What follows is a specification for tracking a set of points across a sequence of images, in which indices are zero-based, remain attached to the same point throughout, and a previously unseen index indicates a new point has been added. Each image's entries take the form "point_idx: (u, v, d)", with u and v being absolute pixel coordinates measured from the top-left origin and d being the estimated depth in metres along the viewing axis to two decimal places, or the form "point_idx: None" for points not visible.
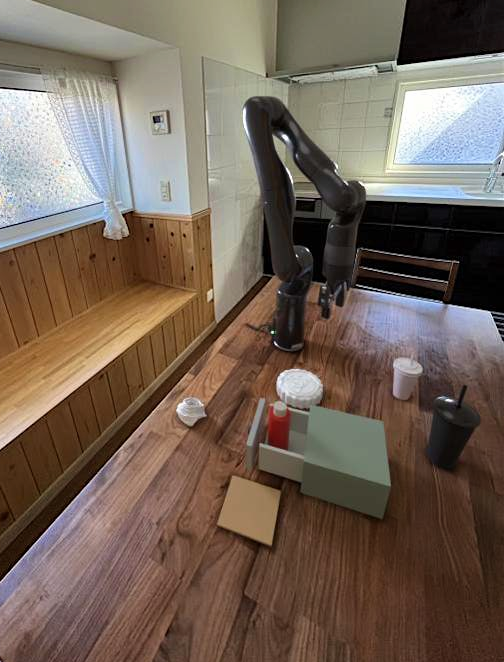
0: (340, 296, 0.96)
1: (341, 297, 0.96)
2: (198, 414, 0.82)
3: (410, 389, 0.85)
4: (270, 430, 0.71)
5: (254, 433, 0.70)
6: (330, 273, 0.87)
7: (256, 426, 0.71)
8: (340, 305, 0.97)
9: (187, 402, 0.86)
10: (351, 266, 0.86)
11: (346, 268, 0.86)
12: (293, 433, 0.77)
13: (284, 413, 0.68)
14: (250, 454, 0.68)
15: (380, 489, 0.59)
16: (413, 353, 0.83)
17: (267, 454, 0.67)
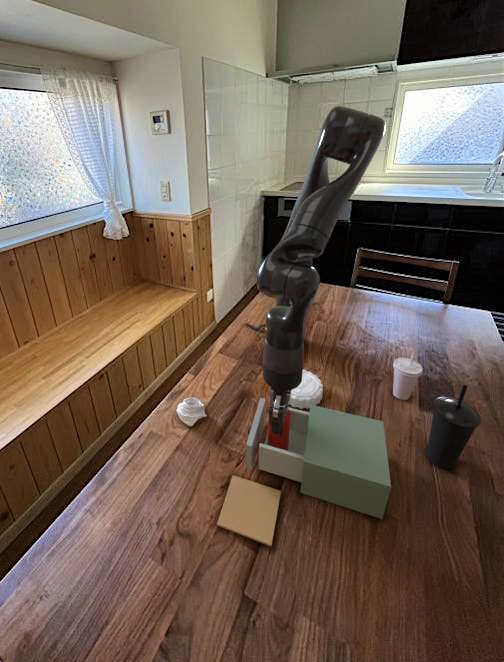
0: None
1: None
2: (198, 414, 0.82)
3: (410, 389, 0.85)
4: (270, 430, 0.71)
5: (254, 433, 0.70)
6: (278, 383, 0.62)
7: (256, 426, 0.71)
8: None
9: (187, 402, 0.86)
10: (302, 368, 0.63)
11: (298, 374, 0.62)
12: (293, 433, 0.77)
13: None
14: (250, 454, 0.68)
15: (380, 489, 0.59)
16: (413, 353, 0.83)
17: (267, 454, 0.67)
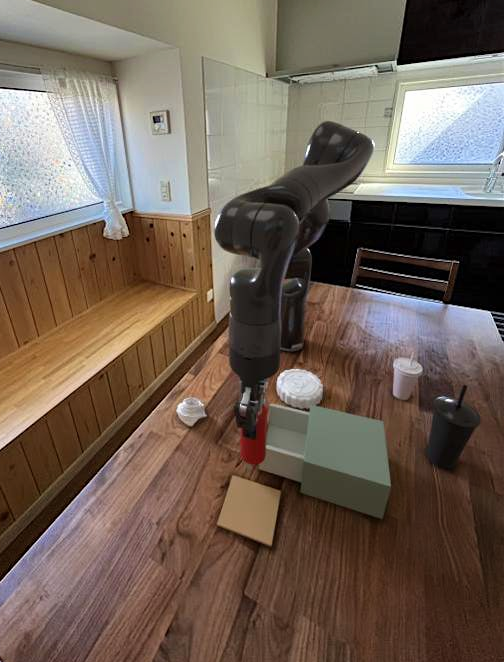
0: None
1: None
2: (198, 414, 0.82)
3: (410, 389, 0.85)
4: (241, 433, 0.55)
5: None
6: (247, 370, 0.47)
7: None
8: None
9: (187, 402, 0.86)
10: (279, 351, 0.48)
11: (273, 358, 0.46)
12: (293, 433, 0.77)
13: None
14: None
15: (380, 489, 0.59)
16: (413, 353, 0.83)
17: (267, 454, 0.67)
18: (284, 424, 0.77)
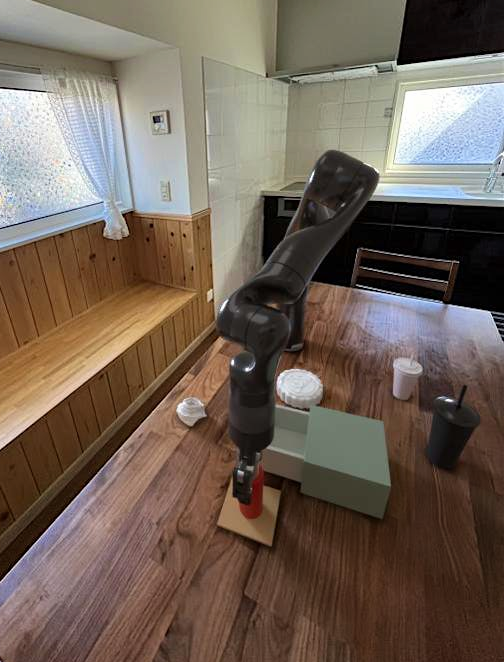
0: None
1: None
2: (198, 414, 0.82)
3: (410, 389, 0.85)
4: None
5: None
6: (244, 443, 0.52)
7: None
8: None
9: (187, 402, 0.86)
10: (273, 425, 0.53)
11: (267, 433, 0.52)
12: (293, 433, 0.77)
13: None
14: None
15: (380, 489, 0.59)
16: (413, 353, 0.83)
17: (267, 454, 0.67)
18: (284, 424, 0.77)
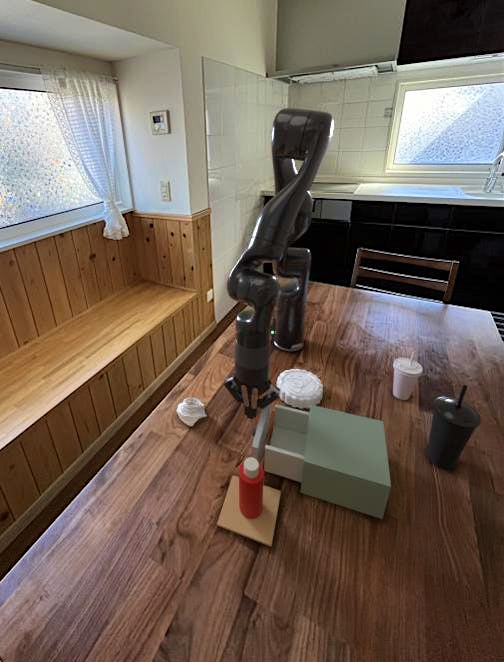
0: (251, 404, 0.78)
1: None
2: (198, 414, 0.82)
3: (410, 389, 0.85)
4: (240, 491, 0.61)
5: (260, 435, 0.69)
6: (268, 371, 0.72)
7: (261, 427, 0.71)
8: None
9: (187, 402, 0.86)
10: None
11: None
12: (298, 435, 0.76)
13: (255, 473, 0.58)
14: (256, 456, 0.68)
15: (380, 489, 0.59)
16: (413, 353, 0.83)
17: (273, 455, 0.67)
18: (289, 425, 0.77)
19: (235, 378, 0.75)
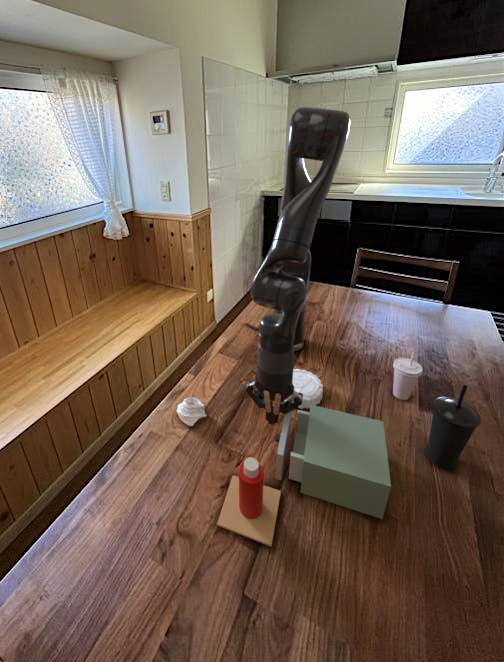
0: (272, 410, 0.76)
1: (273, 409, 0.77)
2: (198, 414, 0.82)
3: (410, 389, 0.85)
4: (240, 491, 0.61)
5: (284, 441, 0.68)
6: (292, 376, 0.70)
7: (285, 434, 0.69)
8: None
9: (187, 402, 0.86)
10: None
11: None
12: None
13: (255, 473, 0.58)
14: (281, 463, 0.66)
15: (380, 489, 0.59)
16: (413, 353, 0.83)
17: (299, 463, 0.65)
18: None
19: (257, 383, 0.73)
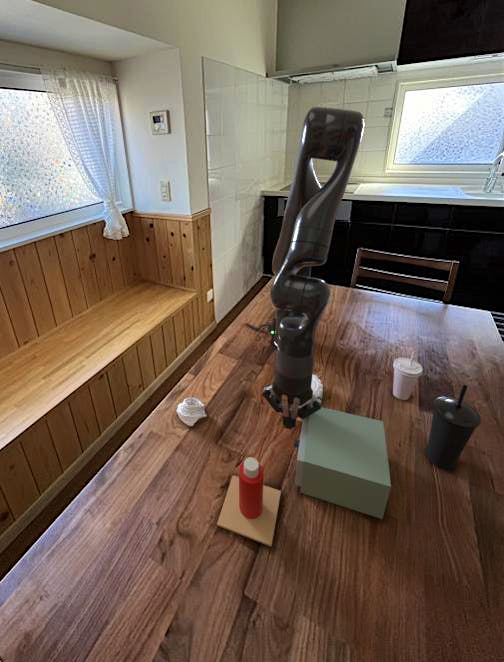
0: None
1: None
2: (198, 414, 0.82)
3: (410, 389, 0.85)
4: (240, 491, 0.61)
5: (304, 447, 0.66)
6: (311, 380, 0.69)
7: (305, 439, 0.68)
8: None
9: (187, 402, 0.86)
10: None
11: None
12: None
13: (255, 473, 0.58)
14: (301, 469, 0.65)
15: (380, 489, 0.59)
16: (413, 353, 0.83)
17: None
18: None
19: (275, 387, 0.72)
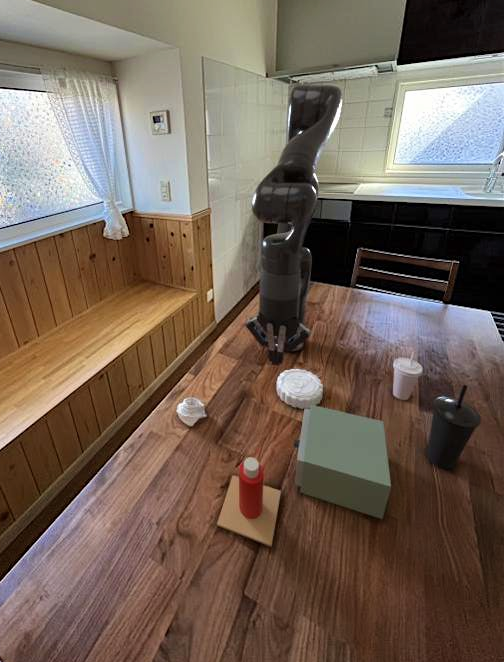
0: None
1: (276, 349, 0.70)
2: (198, 414, 0.82)
3: (410, 389, 0.85)
4: (240, 491, 0.61)
5: (304, 447, 0.66)
6: (298, 305, 0.63)
7: (305, 439, 0.68)
8: None
9: (187, 402, 0.86)
10: None
11: None
12: None
13: (255, 473, 0.58)
14: (301, 469, 0.65)
15: (380, 489, 0.59)
16: (413, 353, 0.83)
17: None
18: None
19: (259, 317, 0.66)
